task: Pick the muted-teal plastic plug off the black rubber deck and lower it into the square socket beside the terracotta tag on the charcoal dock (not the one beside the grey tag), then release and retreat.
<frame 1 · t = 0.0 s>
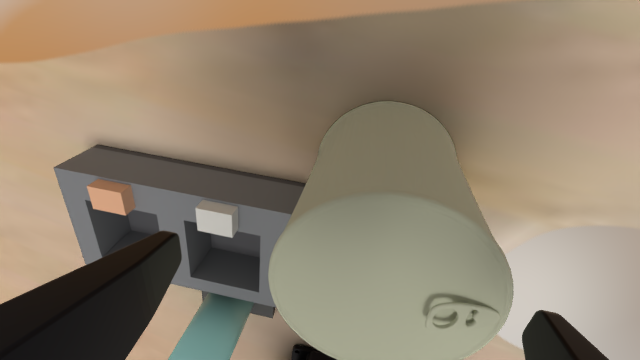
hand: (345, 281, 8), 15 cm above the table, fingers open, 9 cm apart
dock: (203, 211, 28), on the table
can: (384, 166, 23), on the table
plug: (236, 288, 31), point 1 cm above the table, touching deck
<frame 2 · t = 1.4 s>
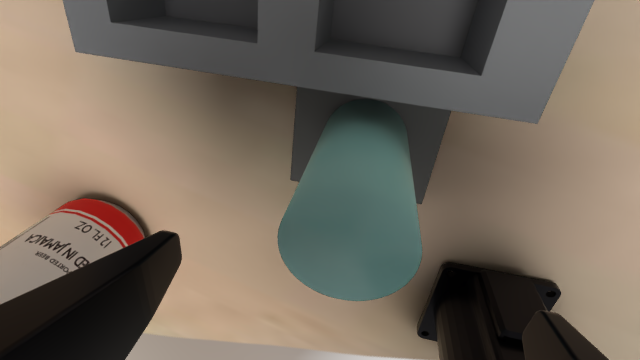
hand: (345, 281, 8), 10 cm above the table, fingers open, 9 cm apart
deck: (364, 139, 17), on the table
plug: (364, 139, 16), point 1 cm above the table, touching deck
beer can: (114, 228, 23), on the table
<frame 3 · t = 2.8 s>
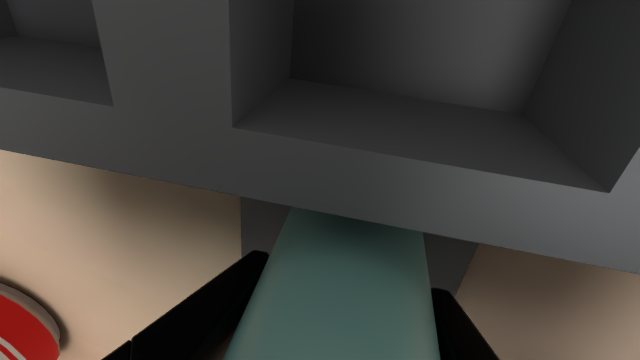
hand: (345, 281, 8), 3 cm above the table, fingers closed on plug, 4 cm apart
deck: (353, 228, 11), on the table
plug: (352, 233, 10), point 1 cm above the table, touching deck, gripper
beer can: (19, 312, 17), on the table
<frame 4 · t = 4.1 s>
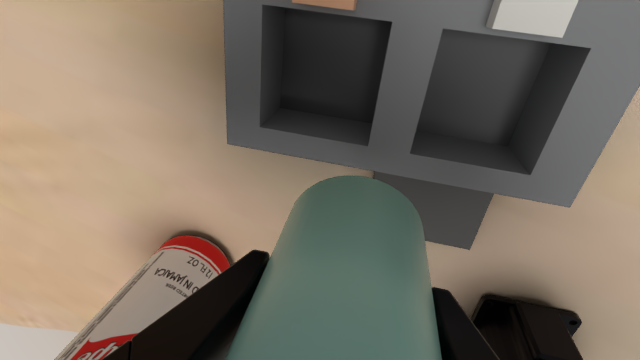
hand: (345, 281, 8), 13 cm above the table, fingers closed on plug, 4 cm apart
dock: (407, 66, 18), on the table
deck: (425, 199, 21), on the table
plug: (353, 234, 10), point 11 cm above the table, touching gripper
beer can: (202, 258, 28), on the table
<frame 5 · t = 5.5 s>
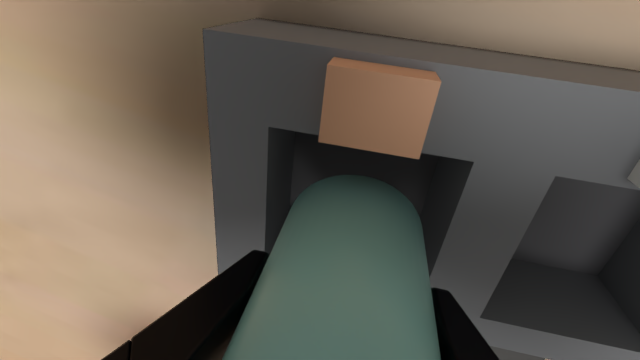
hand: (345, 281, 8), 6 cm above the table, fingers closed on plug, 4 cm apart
dock: (464, 173, 13), on the table
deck: (475, 319, 17), on the table
plug: (352, 233, 10), point 4 cm above the table, touching gripper
when the fingers open (4 cm above the table, at t = 6.6 s): plug drops 2 cm, resting on dock.
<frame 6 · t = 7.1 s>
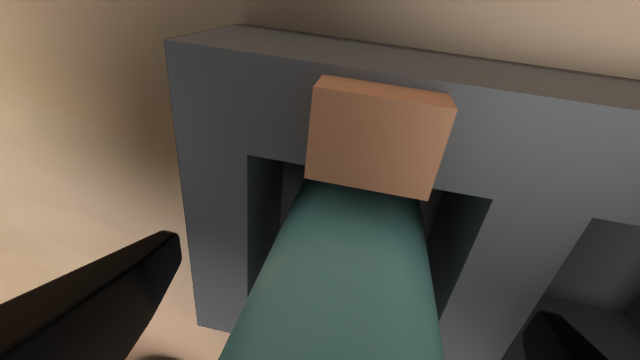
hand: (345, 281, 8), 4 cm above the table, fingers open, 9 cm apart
dock: (475, 198, 12), on the table
plug: (358, 197, 12), point 1 cm above the table, touching dock
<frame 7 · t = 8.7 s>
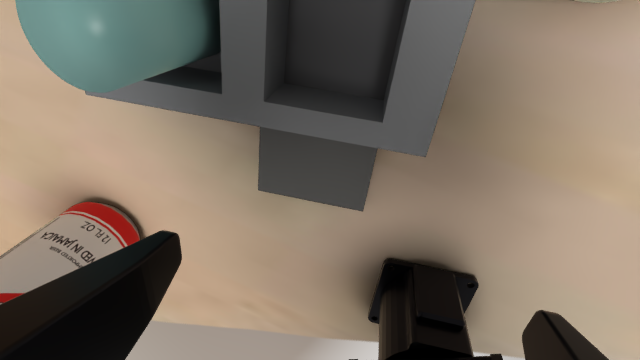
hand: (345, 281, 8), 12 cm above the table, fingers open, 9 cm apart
dock: (276, 15, 17), on the table
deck: (316, 159, 21), on the table
plug: (199, 15, 17), point 1 cm above the table, touching dock
beer can: (113, 226, 27), on the table
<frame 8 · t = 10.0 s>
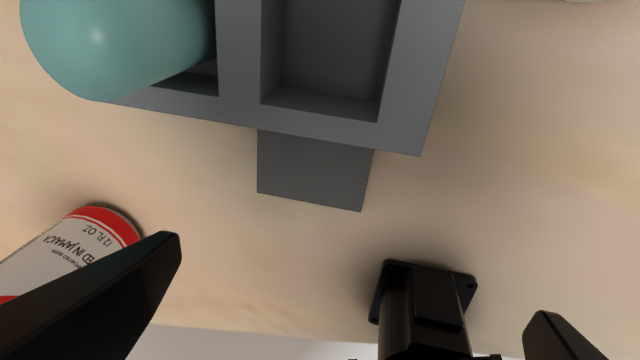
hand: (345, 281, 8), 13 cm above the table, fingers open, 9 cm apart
dock: (272, 19, 17), on the table
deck: (313, 161, 21), on the table
plug: (196, 20, 18), point 1 cm above the table, touching dock
beer can: (114, 230, 28), on the table
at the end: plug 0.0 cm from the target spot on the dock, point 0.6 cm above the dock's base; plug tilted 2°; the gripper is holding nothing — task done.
